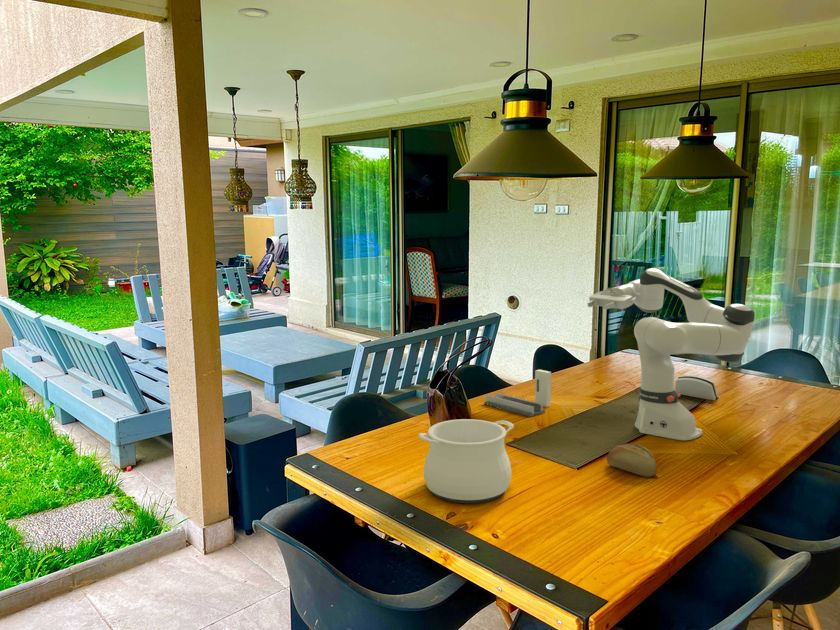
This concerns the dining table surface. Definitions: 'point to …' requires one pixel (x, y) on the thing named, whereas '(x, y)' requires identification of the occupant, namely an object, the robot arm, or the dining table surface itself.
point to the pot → (467, 460)
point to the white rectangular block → (543, 387)
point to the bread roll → (633, 459)
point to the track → (515, 404)
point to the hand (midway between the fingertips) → (596, 306)
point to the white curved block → (696, 387)
